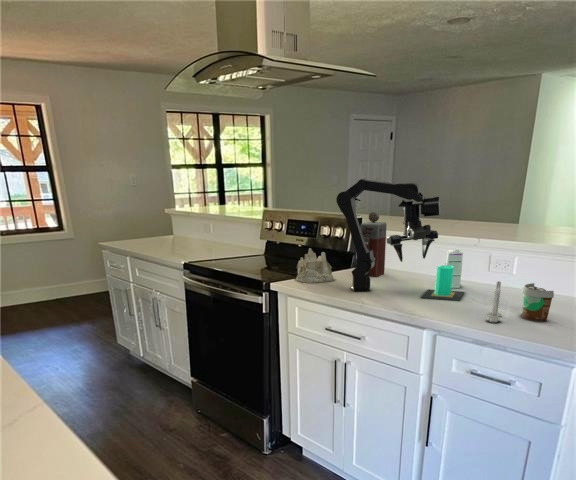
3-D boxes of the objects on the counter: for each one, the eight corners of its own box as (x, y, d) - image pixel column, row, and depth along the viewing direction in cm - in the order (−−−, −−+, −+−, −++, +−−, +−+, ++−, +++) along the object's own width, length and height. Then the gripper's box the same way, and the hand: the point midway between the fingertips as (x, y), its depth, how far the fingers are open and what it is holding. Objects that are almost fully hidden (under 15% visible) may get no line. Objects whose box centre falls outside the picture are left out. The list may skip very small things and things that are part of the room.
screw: (482, 321, 162) (490, 318, 165) (496, 324, 158) (504, 321, 161) (487, 281, 157) (495, 278, 160) (502, 283, 153) (510, 280, 156)
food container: (511, 313, 170) (515, 283, 166) (528, 312, 170) (533, 282, 166) (530, 323, 158) (535, 292, 154) (549, 322, 159) (554, 291, 155)
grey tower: (460, 288, 206) (464, 251, 200) (445, 288, 207) (448, 251, 201) (458, 285, 211) (462, 249, 205) (444, 285, 212) (447, 249, 206)
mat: (421, 298, 192) (421, 296, 192) (427, 290, 204) (428, 289, 204) (459, 300, 187) (459, 299, 187) (464, 292, 198) (464, 291, 198)
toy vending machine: (356, 276, 234) (358, 212, 223) (367, 272, 242) (369, 210, 231) (374, 278, 229) (376, 213, 218) (384, 273, 237) (387, 211, 226)
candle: (446, 291, 198) (449, 261, 194) (453, 295, 193) (456, 263, 188) (431, 292, 197) (434, 261, 193) (438, 296, 192) (441, 264, 187)
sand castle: (336, 281, 224) (334, 246, 219) (299, 284, 222) (297, 249, 217) (328, 276, 239) (326, 244, 234) (294, 280, 237) (291, 247, 232)
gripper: (395, 222, 183) (397, 265, 188) (444, 216, 184) (444, 259, 190) (385, 221, 193) (387, 262, 199) (431, 214, 195) (432, 256, 200)
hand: (412, 260), depth 197 cm, fingers open, 9 cm apart
